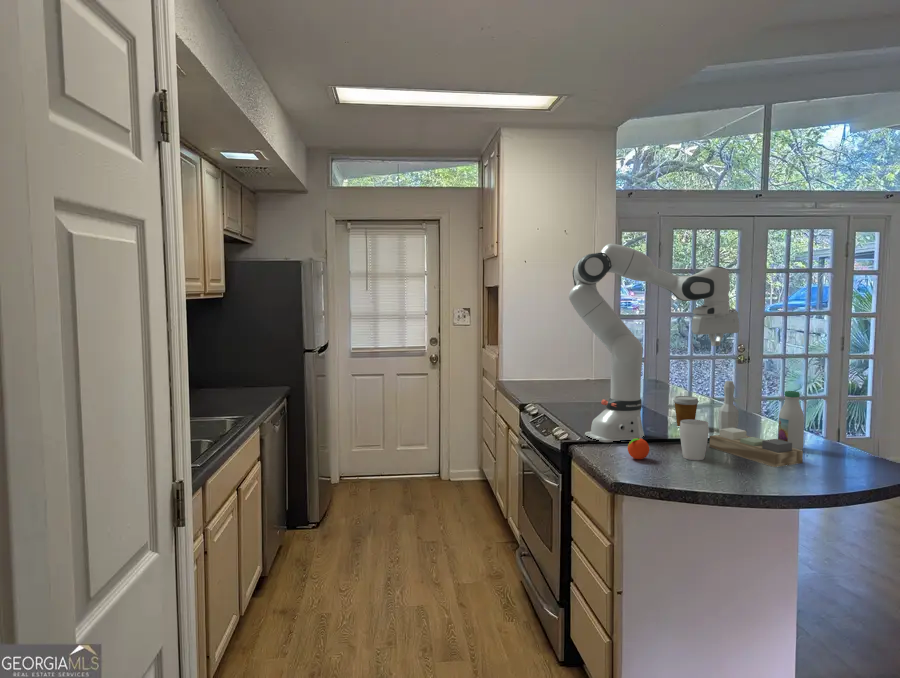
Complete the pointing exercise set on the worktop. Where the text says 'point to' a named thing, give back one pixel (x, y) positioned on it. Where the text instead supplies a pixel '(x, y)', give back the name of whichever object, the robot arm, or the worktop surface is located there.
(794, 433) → the milk bottle
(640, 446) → the clementine
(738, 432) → the off-white key
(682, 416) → the disposable coffee cup
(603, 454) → the worktop surface
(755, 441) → the sage green key
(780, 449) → the charcoal key
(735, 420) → the faceted bottle
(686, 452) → the cup
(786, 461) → the oak key console
